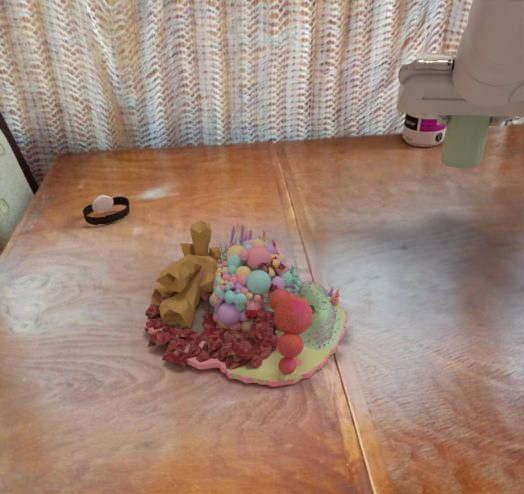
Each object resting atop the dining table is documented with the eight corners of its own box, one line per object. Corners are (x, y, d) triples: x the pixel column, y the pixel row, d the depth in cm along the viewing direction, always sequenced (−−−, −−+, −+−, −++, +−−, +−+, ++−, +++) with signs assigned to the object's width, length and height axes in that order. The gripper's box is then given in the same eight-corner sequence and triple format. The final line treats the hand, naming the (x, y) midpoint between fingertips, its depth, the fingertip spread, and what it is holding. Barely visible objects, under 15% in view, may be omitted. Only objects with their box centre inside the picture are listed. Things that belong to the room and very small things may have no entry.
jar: (478, 153, 79) (495, 80, 72) (482, 169, 75) (500, 93, 68) (439, 152, 80) (453, 80, 73) (441, 167, 76) (455, 92, 69)
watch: (125, 206, 91) (120, 185, 89) (136, 216, 88) (132, 196, 86) (81, 219, 88) (75, 199, 86) (91, 231, 85) (86, 210, 83)
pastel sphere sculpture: (114, 362, 62) (94, 297, 56) (188, 255, 79) (179, 196, 73) (329, 399, 56) (333, 331, 50) (359, 276, 73) (365, 214, 67)
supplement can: (449, 136, 109) (465, 54, 99) (435, 151, 104) (451, 65, 94) (410, 130, 112) (422, 50, 102) (395, 143, 107) (406, 60, 97)
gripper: (397, 88, 62) (389, 140, 76) (588, 91, 59) (544, 145, 73) (403, 35, 63) (394, 97, 76) (593, 35, 59) (548, 100, 73)
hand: (468, 120), depth 74 cm, fingers closed on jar, 5 cm apart
